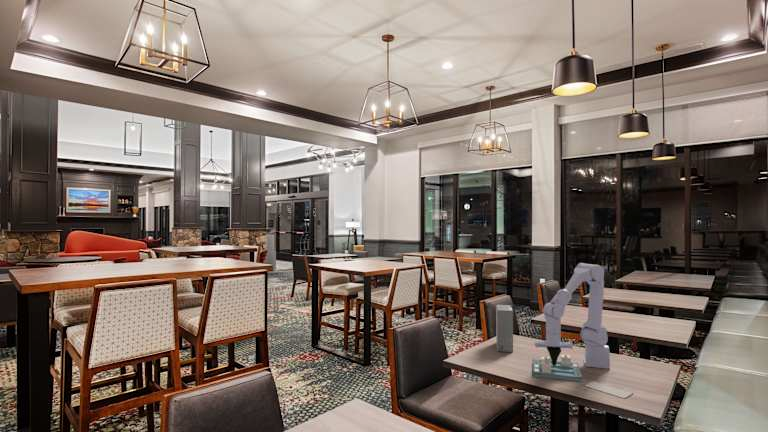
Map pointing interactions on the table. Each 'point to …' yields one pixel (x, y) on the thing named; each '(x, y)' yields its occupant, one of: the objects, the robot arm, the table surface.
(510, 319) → the hard drive box
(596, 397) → the table surface
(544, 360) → the tab
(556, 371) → the switch board
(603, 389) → the smartphone
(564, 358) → the tab
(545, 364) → the tab
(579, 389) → the table surface
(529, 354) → the table surface
